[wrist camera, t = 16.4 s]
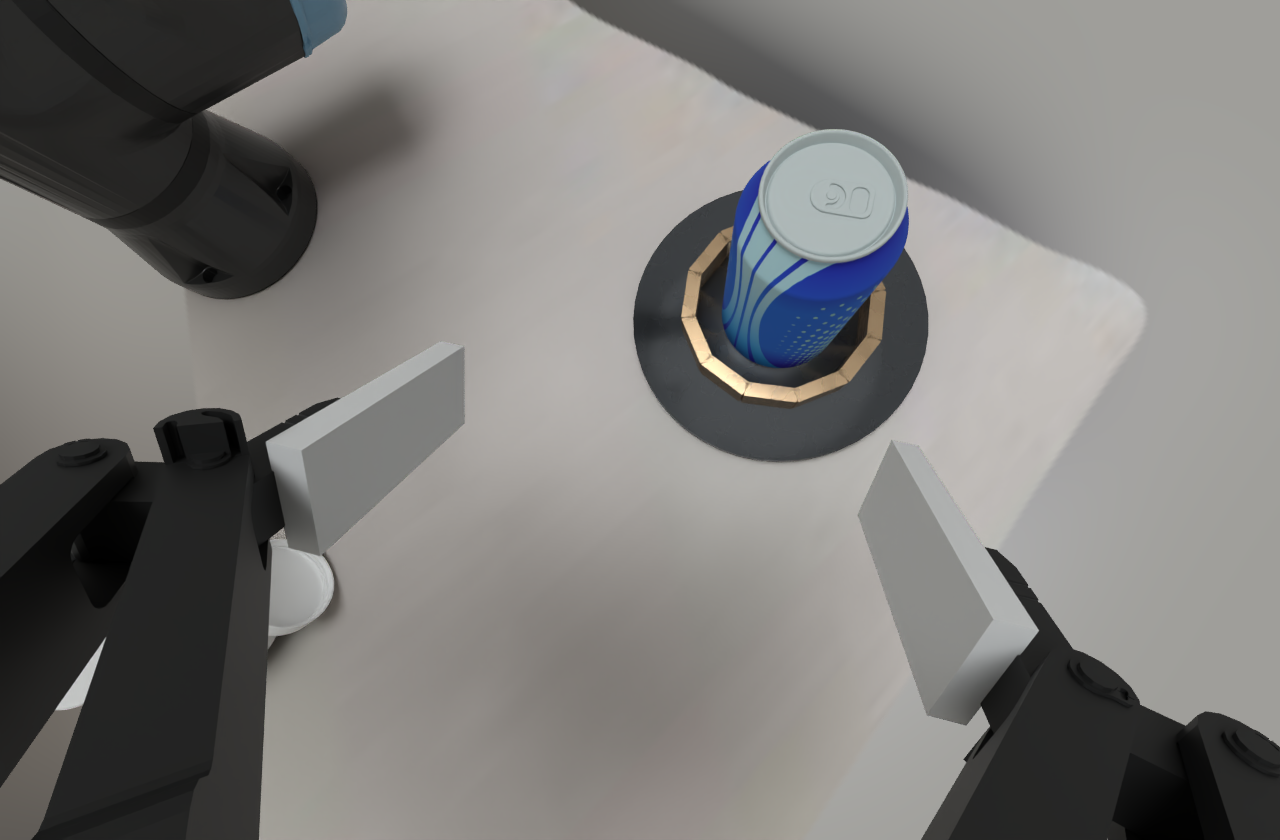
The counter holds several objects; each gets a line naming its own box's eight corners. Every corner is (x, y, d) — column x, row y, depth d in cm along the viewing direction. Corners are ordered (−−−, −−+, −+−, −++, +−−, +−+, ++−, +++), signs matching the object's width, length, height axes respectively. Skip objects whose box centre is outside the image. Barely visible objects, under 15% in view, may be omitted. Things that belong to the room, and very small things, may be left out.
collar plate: (579, 347, 41) (569, 332, 38) (746, 146, 42) (751, 114, 39) (806, 522, 37) (817, 524, 33) (982, 293, 38) (1010, 272, 35)
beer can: (767, 395, 38) (820, 317, 22) (698, 311, 39) (701, 183, 24) (857, 328, 38) (972, 202, 22) (784, 247, 40) (844, 78, 24)
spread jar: (172, 609, 41) (-29, 649, 30) (259, 492, 42) (96, 487, 30) (275, 704, 39) (101, 787, 27) (364, 579, 40) (231, 609, 28)
